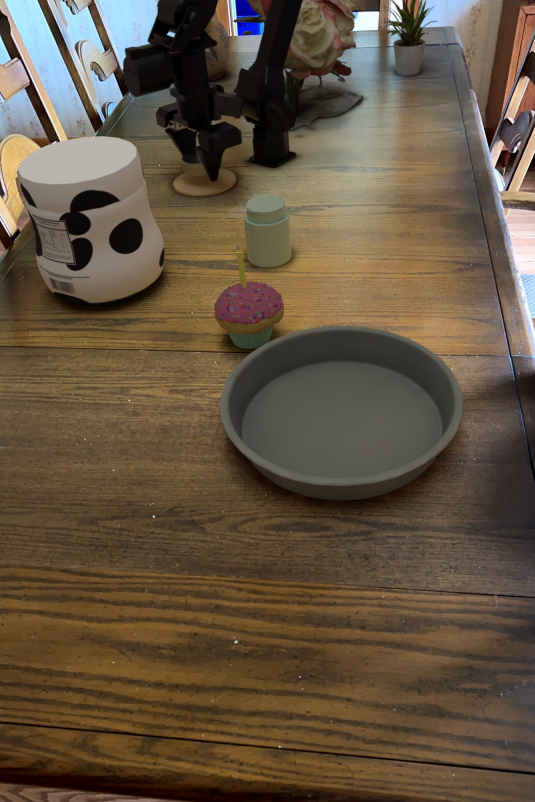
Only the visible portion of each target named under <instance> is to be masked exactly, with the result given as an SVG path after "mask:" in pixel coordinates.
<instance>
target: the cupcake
mask: <svg viewBox="0 0 535 802" xmlns="http://www.w3.org/2000/svg"><path fill="white" fill-rule="evenodd" d="M239 247H240V246H239V244H236V252H235V254H236V255H235V256H236V261H237V269H238V274H239V279H240V282H237V283H235V284H233V285H231V286H228V287H227V288H226V289H224V290H222V292H221V293H220V294H219V296H218V297H217V298H216V301H215V303H214V311H213V312H214V313H213V315H214V319H215V320H216V322H217V324H218V325H219V327H220V328H221V329H223V330H225V331H226V332H227V333H228V335H229V338H230V339H231V341H232V343H233V344H234V345H235V346H236V347H238V348H240V349H243V350H254V349H255V350H256V349H258V348H259V347H261V346H263V345H264V344H266V343H268V342H270V341H271V340H270V339H271V335H272V332H273V328H274V327H275V324H278V323H280V322H281V321H282V319H283V317H284V315H285V314H284V313H285V305H284V299H283V296H282V293H279V292H278V291H277V290H276V289H275V288H274V287H273V286H272V285H268V284H267V283H265V282H264V283H263V282H259V281H247V278H246V271H245V264H244V260H243V259H244V258H243V252H242V250H240V248H239Z"/></svg>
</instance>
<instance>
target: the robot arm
mask: <svg viewBox="0 0 535 802" xmlns="http://www.w3.org/2000/svg"><path fill="white" fill-rule="evenodd" d="M302 2H303V0H272V1H271V5H270V8H269V12H268V16H267V20H266V23H264V26H265V27H264V26H263V31H262V34H261V39H260V41H259V46H258V50H257V53H256V57H255V59H254V61H253V63H252V64H251V65H250V66H249V67H250V68H249V67H248V69H246V68H243V67H241V68H240V69H239V71H238V78H237V83H236V85H235V87H234V88H233V89H234V91H233V92H234V93H236V95H233V94H231V92H227V91H225V87H224V86H223V85H221V84H219V83H215V82H210V80H209V76H208V68H207V60H206V51H205V49H207V48H210V47H214V46H217V41H216V40H214V39H213V38H211V37H210V36H209V35H208V33H207V32H206V31H204V30H205V29H206V27H207V25H208V24H209V22H210V21H211V19H212V17H213V16H214V14H215V11H216V12H217V7H218V4H219V0H158V1H157V3H156V8H157V10H156V11H157V12H156V13H157V14H156V16H155V19H154V22H153V24H152V26H151V30H150V32H149V35H148V37H147V40H146V41H147V44H143V45H139V46H129V47H125V48H124V55H125V57H124V58H123V62H122V69H121V73H122V78H123V80H124V84H125V86H126V88H127V90H128V91H129V93H130V95H132V97H134V98H140V97H143V96H146V95H150V94H154V93H158V92H160V91H164V90H169V95H170V96H171V97H173V98H175V102H171V103H168V104H165V105H161V106H158V108H157V110H156V112H155V120H156V125H158V126H160V127H161V128H163V129H164V132H165V133H166V134H167V136H168V138H170V140H171V142H172V144H174V146H175V148H176V149H177V151H178V152H179V154H180V155H181V157H182V156H183V155H184V154H185V153H187V152H189V151H192V150H197V153H198V155H199V157H200V159H201V161H202V164H203V166H204V168H205V170H206V173H207V175H208V177H209V179H210V181H211V182H214V181H217V179H218V174H219V169H220V164H221V160H222V159H223V156H224V153H225V151H226V150H227V149H230V148H234V147H236V146H240V145H242V143H243V137H242V130H240V128H239V127H238V126H235V125H234V124H232V123H229V122H227V121H225V120H224V121H221V122H217V121H220V120H222V116H223V117H232V118H234V119H238V120H240V119H241V118H242V115H243V118H244V119H245V121H246V123H249V124H252V125H253V127H252V129H251V130H252V152H253V155H251V156H249V157H248V161H249V162H251V163H254V164H255V163H256V164H258V165H259V164H260V165H263V166H267V167H271V168H277V167H279V166H282V165H283V164H284V163H287V162H288V161H290V160H292V159H293V158H295V157H296V156H297V152H295V151H291V150H290V135H289V133H290V132H289V130H292V129H291V128H293V129H295V128H294V126H295V122H296V118H297V115H296V114H295V113H294V112H293V111H292V110H291V109H289V108H288V107H287V106H286V105H285V104H284V99H285V92H286V87H285V80H284V77H285V72H284V71H285V70H284V65H285V62H286V58H287V55H288V51H289V48H290V44H291V40H292V37H293V33H294V30H295V26H296V23H297V19H298V16H299V12H300V9H301V5H302ZM169 33H173V34H174V35H173V36H171V35H168V34H169ZM172 85H173V87H172ZM213 121H215V122H217V123H214V124H213ZM197 142H198V145H197ZM222 161H223V160H222Z"/></svg>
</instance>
